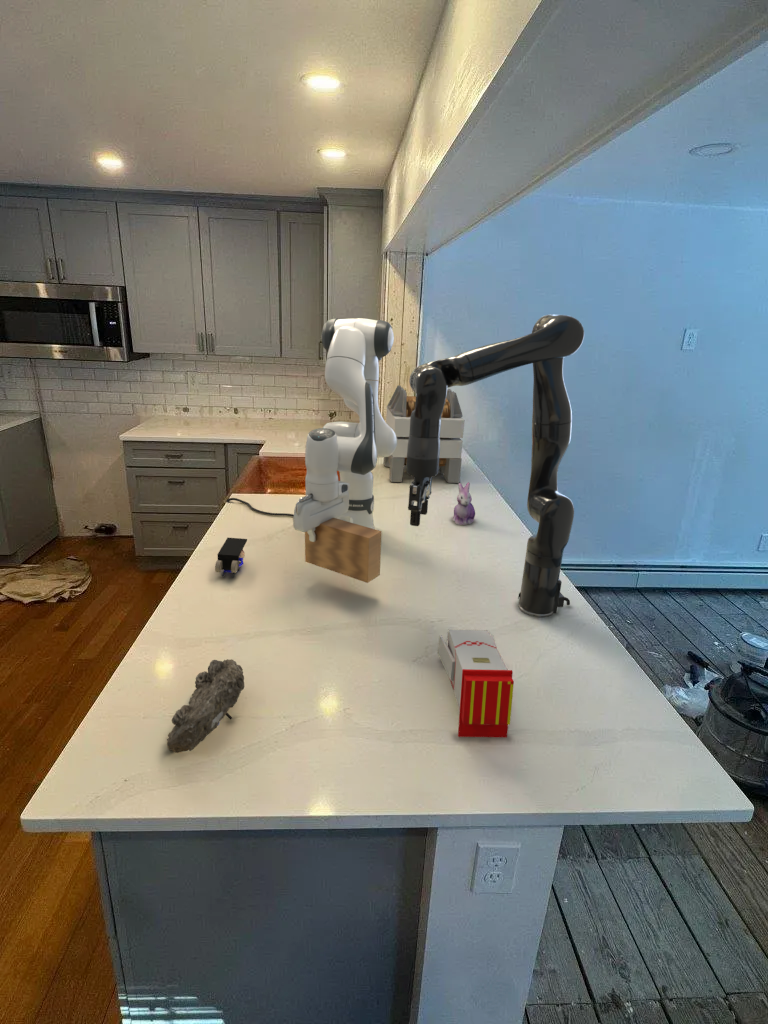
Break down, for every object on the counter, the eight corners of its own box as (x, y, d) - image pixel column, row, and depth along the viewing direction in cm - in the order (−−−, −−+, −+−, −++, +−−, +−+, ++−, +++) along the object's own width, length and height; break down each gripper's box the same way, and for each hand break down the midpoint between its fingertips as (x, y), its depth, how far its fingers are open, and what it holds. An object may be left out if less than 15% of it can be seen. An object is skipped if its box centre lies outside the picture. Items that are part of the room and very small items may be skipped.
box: (305, 561, 160) (304, 519, 156) (318, 554, 165) (318, 513, 160) (367, 583, 150) (369, 538, 145) (380, 574, 154) (381, 531, 150)
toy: (488, 613, 130) (523, 677, 101) (484, 667, 133) (517, 744, 104) (435, 612, 130) (455, 676, 101) (432, 666, 133) (451, 743, 103)
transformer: (382, 463, 289) (386, 382, 275) (445, 464, 293) (451, 384, 279) (390, 482, 257) (394, 392, 243) (460, 483, 261) (468, 394, 247)
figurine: (461, 527, 208) (464, 488, 203) (445, 518, 216) (448, 480, 211) (481, 524, 212) (485, 485, 207) (466, 515, 221) (469, 478, 216)
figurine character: (238, 584, 162) (249, 557, 175) (236, 562, 158) (247, 536, 172) (215, 584, 161) (227, 556, 175) (212, 561, 158) (225, 535, 171)
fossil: (192, 660, 117) (244, 628, 112) (224, 691, 120) (276, 661, 115) (142, 746, 98) (202, 712, 93) (182, 779, 101) (242, 748, 96)
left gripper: (305, 502, 144) (306, 551, 148) (353, 483, 160) (352, 528, 165) (286, 497, 147) (288, 545, 152) (335, 478, 163) (335, 523, 168)
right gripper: (433, 463, 124) (427, 532, 129) (444, 449, 137) (439, 512, 142) (399, 459, 126) (396, 527, 131) (414, 446, 139) (410, 508, 144)
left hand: (321, 536), depth 158 cm, fingers closed on box, 6 cm apart
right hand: (418, 519), depth 137 cm, fingers open, 8 cm apart
